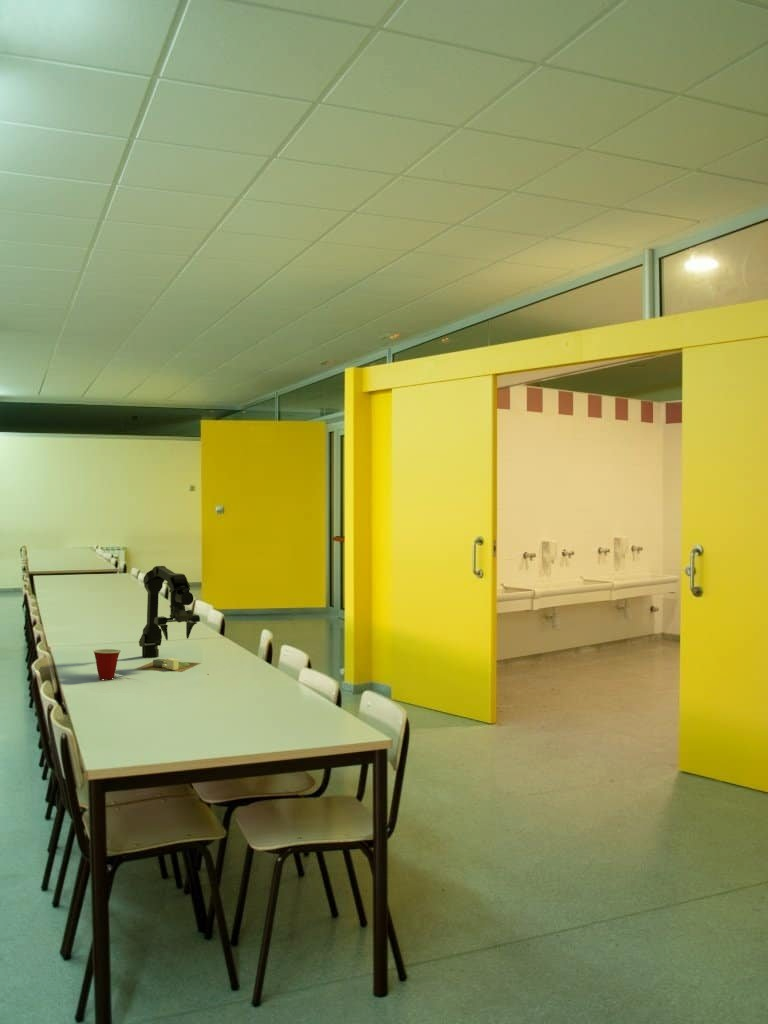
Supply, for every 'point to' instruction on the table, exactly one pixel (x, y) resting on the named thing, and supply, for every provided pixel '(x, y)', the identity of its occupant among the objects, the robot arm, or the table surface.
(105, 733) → the table surface
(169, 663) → the peg lever
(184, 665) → the brown flat wooden board
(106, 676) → the plastic cup
